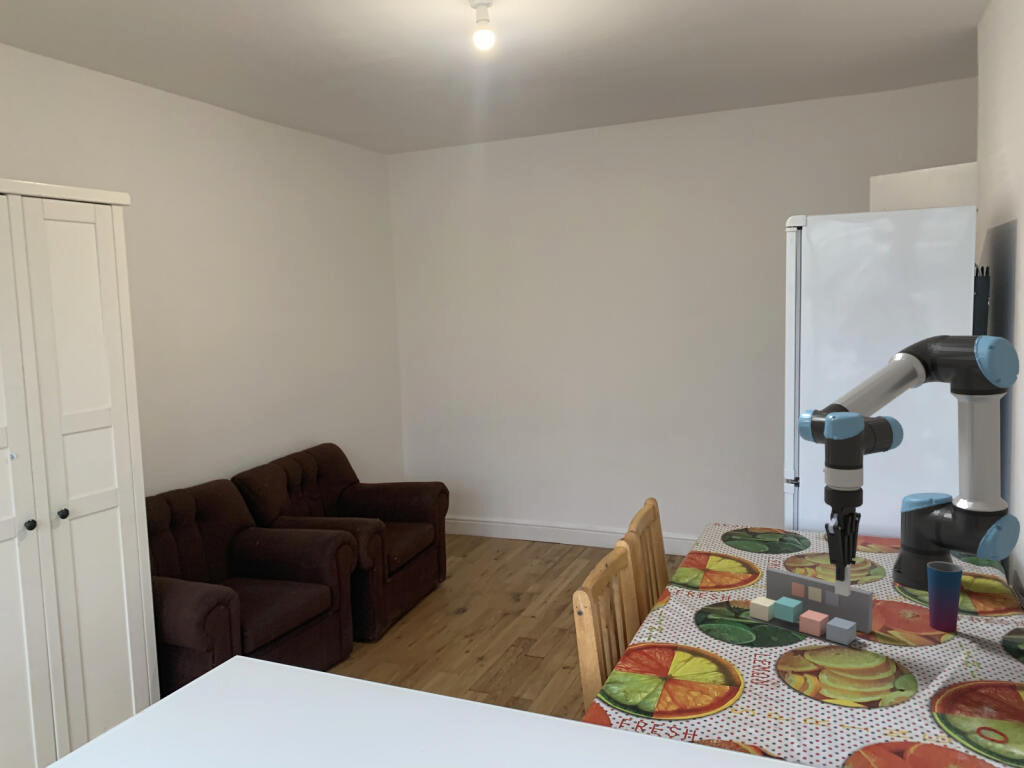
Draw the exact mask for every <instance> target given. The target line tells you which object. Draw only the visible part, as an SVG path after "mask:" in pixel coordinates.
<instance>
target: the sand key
mask: <svg viewBox="0 0 1024 768" xmlns="http://www.w3.org/2000/svg"><path fill="white" fill-rule="evenodd" d="M774 602H775V600H771V599H768V598H766V597H764V596H760V595H759V596H757V597H756V598H753V599H752V600H750V601H749V616H751V617H754V618H757V619H761V620H764V621H767V622H768V621H770V620H771V619H773V618H774Z"/></svg>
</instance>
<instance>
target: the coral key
mask: <svg viewBox="0 0 1024 768" xmlns="http://www.w3.org/2000/svg"><path fill="white" fill-rule="evenodd" d="M799 621H800V626H799V631H801V632H804V633H808V634H811V635H814V636H818V637H820V636H822V635H823V634H824V633H826V624H827V623H828V622H829V615H826V614H822V613H819V612H815V611H811V610H808V611H806V612H805V613H803V614H802V615H800V618H799Z"/></svg>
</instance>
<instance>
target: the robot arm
mask: <svg viewBox="0 0 1024 768" xmlns="http://www.w3.org/2000/svg"><path fill="white" fill-rule="evenodd" d="M1019 374H1020V360H1019V355H1018V351H1017V350H1016V348H1015V347H1014V345H1013V344H1012V342H1010V341H1009V340H1008V339H1006V338H1004V337H1002V336H991V335H948V334H947V335H946V334H941V335H934V336H931V337H927V338H924V339H921V340H919V341H917V342H915V343H912V344H911V345H909V346H907V347H904V348H902V349H901V350H900V351H898V352H897V353H895V354H894V355H892V356H891V357H890V358H889V360H888V364H887V365H885V366H883V367H882V368H881V369H879V370H878V371H876V372H875V373H874V374H872V375H871V376H869V377H868V378H866V379H865V380H863V381H862V382H860V383H858V385H855V387H853V388H852V389H850V390H848V391H847V392H846V393H844V394H842V395H841V396H840V397H839V398H837V399H835V400H834V401H833V402H832V403H829V405H827V406H826V407H824V408H823V409H819V410H818V409H815V408H814V409H807V410H804V411H803V412H802V413H801V415H800V416H799V417H798V421H797V430H798V431H797V432H798V435H799V436H800V438H801V439H803V440H804V441H807V442H811V443H815V444H819V445H824V468H823V469H822V471H823V473H824V484H825V486H824V488H823V489H824V492H823V493H824V495H823V496H824V497H823V500H824V501H823V502H824V503H825V504H826V505H827V506H829V507H831V511H830V515H829V516H830V517H829V518H830V522H829V523H828V522H825V524H824V530H825V532H826V537H827V538H826V539H827V540H826V541H827V548H828V556H829V564H830V565H833V566H834V583H835V593H836V594H840V595H844V596H849V595H850V594H851V587H852V586H851V581H852V579H851V578H852V577H851V576H852V574H851V573H852V567H851V566H852V565H855V566H856V563H857V561H856V560H855V559H856V558H857V557H856V556H857V555H856V554H857V547H858V538H859V535H858V534H859V530H860V529H859V528H860V521H861V518H862V514H861V512H857V509H858V508H860V507H862V505H863V504H864V489H863V488H862V487H863V486H864V456H867V455H872V454H873V455H874V454H878V453H887V452H888V451H891V450H895V449H896V448H898V447H899V446H900V445H901V444H902V442H903V439H904V435H905V434H904V428H903V426H902V425H901V423H900V421H899V420H897V419H896V418H895V417H893V416H890V415H889V416H888V415H886V416H885V415H884V416H882V415H878V416H875V417H873V415H874V414H876V413H877V412H879V411H880V410H881V409H883V408H884V407H885V406H887V405H888V404H890V403H891V402H892V401H894V400H895V399H896V398H898V397H900V396H901V395H902V394H904V393H905V392H907V391H908V390H909V389H917V388H919V387H921V386H922V385H924V384H928V383H947V384H949V388H950V391H949V393H950V395H952V396H953V397H954V398H956V400H957V431H958V432H957V435H958V436H957V437H958V443H957V446H958V495H957V496H956V497H954V498H953V496H952V495H951V494H950V493H944V492H943V493H942V492H917V493H911V494H906V495H905V496H904V497H903V498H902V500H901V506H900V510H899V511H900V512H899V513H900V539H899V541H900V547H899V551H898V554H897V557H896V559H895V561H894V564H893V566H892V573H891V574H892V575H891V576H892V577H891V578H892V579H893V580H894V581H895V582H896V583H898V584H900V585H902V586H905V587H908V588H912V589H917V590H922V591H928V573H927V564H928V563H929V562H935V561H940V562H949V563H953V564H955V563H954V560H953V557H952V551H954V552H958V553H962V554H966V555H969V556H973V557H977V558H978V559H980V560H983V559H985V560H989V561H994V562H998V561H1003V560H1004V559H1006V558H1008V557H1009V556H1010V554H1011V553H1012V552H1013V551H1014V549H1015V547H1016V545H1017V543H1018V541H1019V537H1020V533H1021V524H1020V521H1019V518H1018V517H1016V516H1015V515H1013V514H1010V513H1009V503H1008V502H1007V501H1006V500H1004V498H1002V497H1001V496H1002V495H1001V494H1002V493H1001V489H1002V487H1001V485H1002V484H1001V399H1003V397H1004V396H1005V395H1006V394H1008V388H1009V387H1012V386H1013V385H1014V384H1015V383H1016V382H1017V380H1018V375H1019ZM856 508H857V509H856ZM853 559H854V560H853Z"/></svg>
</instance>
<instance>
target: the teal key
mask: <svg viewBox="0 0 1024 768" xmlns="http://www.w3.org/2000/svg"><path fill="white" fill-rule="evenodd" d="M800 615H802V601H798V600H794V599H791V598H787V597H782V598H780V599H779V600H777V601H775V602H774V617H775V618H779V619H782V620H786V621H789V622H795V621H796V620H797V621H799V620H800Z"/></svg>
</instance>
